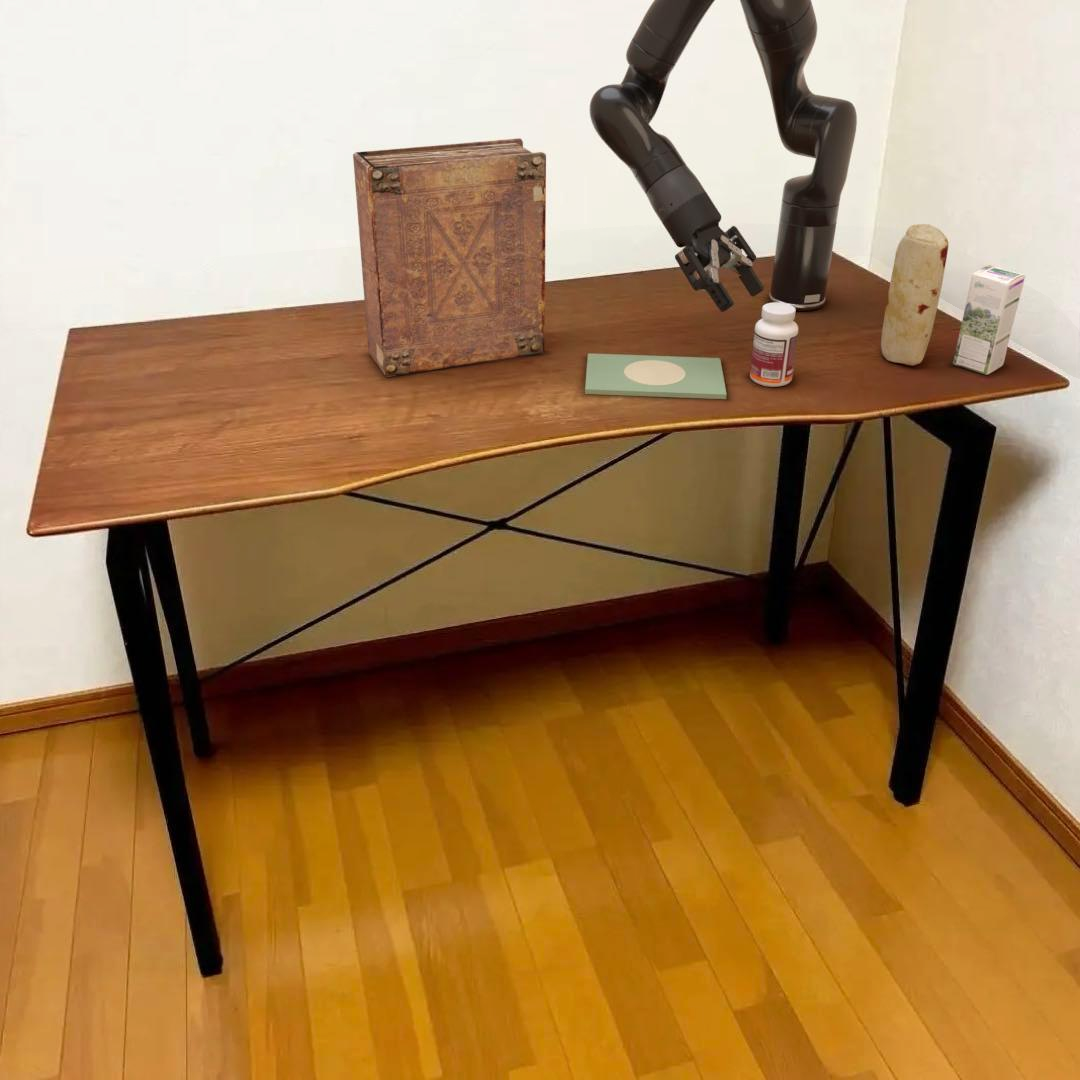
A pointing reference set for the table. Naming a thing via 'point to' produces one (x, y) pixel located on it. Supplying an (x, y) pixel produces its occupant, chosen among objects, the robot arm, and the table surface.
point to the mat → (655, 376)
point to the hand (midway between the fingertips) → (743, 300)
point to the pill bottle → (774, 345)
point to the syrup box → (988, 319)
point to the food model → (914, 294)
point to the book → (452, 253)
